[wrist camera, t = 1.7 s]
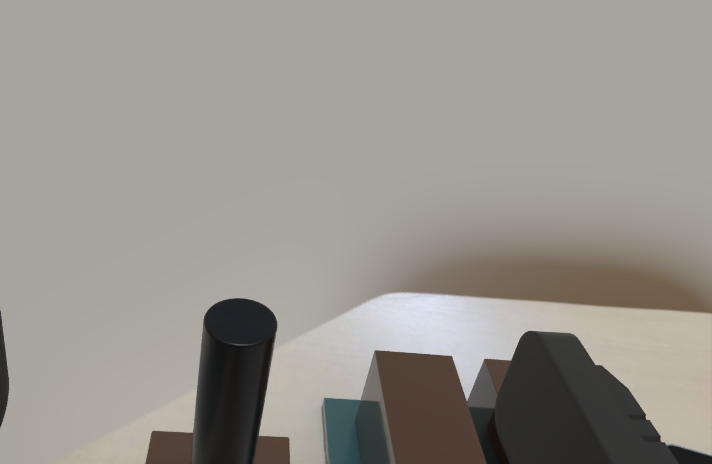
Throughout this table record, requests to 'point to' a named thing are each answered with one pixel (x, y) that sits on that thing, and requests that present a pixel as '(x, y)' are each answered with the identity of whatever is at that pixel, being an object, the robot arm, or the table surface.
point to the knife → (232, 381)
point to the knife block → (174, 449)
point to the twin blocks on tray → (417, 414)
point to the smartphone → (689, 455)
